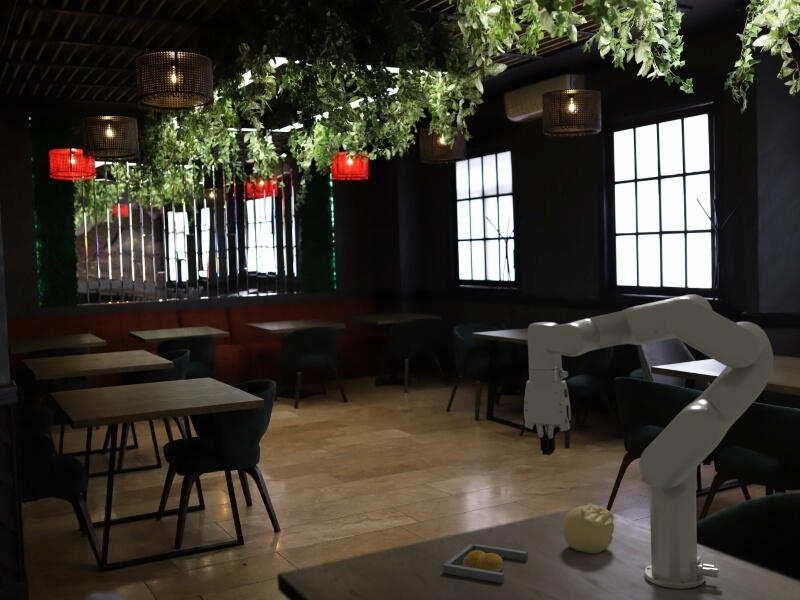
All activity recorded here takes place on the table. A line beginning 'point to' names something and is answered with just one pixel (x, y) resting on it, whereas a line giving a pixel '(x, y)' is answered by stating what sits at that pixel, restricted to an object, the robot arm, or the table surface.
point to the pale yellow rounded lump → (589, 528)
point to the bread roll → (483, 561)
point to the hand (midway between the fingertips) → (548, 453)
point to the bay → (454, 569)
